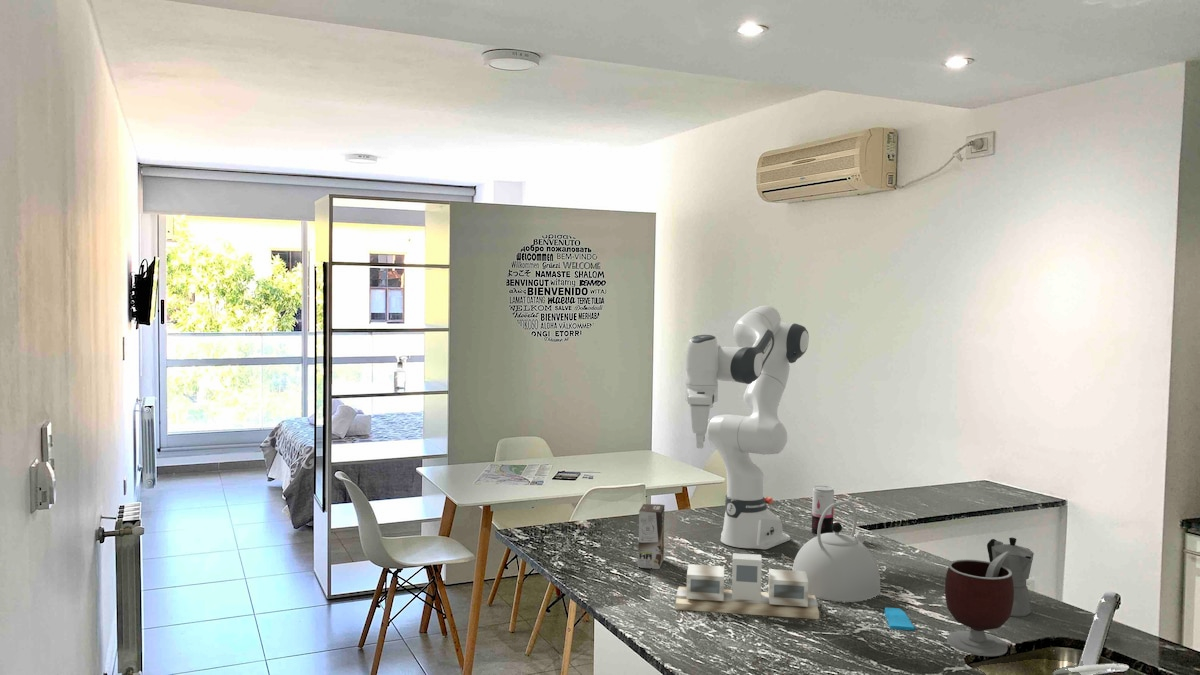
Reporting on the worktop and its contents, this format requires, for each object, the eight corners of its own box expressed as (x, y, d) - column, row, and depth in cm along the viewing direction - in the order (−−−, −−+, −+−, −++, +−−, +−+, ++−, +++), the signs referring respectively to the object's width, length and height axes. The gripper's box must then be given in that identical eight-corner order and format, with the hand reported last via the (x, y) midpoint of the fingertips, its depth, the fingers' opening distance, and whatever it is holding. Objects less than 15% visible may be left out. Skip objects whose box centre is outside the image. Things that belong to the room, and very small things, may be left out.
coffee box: (660, 569, 239) (661, 512, 238) (637, 567, 241) (638, 510, 240) (664, 559, 248) (665, 504, 247) (642, 557, 250) (643, 502, 249)
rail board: (675, 609, 210) (675, 576, 209) (678, 592, 222) (679, 561, 221) (819, 619, 205) (819, 585, 204) (814, 601, 216) (815, 569, 216)
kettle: (826, 565, 245) (829, 486, 244) (901, 586, 229) (904, 502, 227) (774, 585, 228) (775, 500, 227) (850, 609, 212) (852, 518, 210)
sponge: (909, 609, 210) (884, 604, 211) (916, 628, 198) (890, 623, 199) (908, 615, 210) (883, 610, 211) (915, 635, 198) (889, 629, 199)
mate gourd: (978, 662, 182) (982, 569, 181) (929, 637, 195) (932, 550, 193) (1031, 650, 188) (1035, 560, 187) (980, 627, 201) (983, 542, 200)
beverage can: (837, 535, 275) (838, 488, 274) (823, 538, 271) (824, 491, 270) (821, 530, 280) (822, 484, 279) (807, 533, 276) (808, 487, 276)
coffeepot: (1045, 618, 207) (1049, 544, 206) (1011, 621, 205) (1014, 546, 204) (1002, 595, 222) (1005, 526, 221) (970, 598, 220) (972, 528, 218)
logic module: (731, 592, 216) (732, 553, 215) (760, 594, 215) (761, 554, 214) (731, 598, 211) (732, 558, 211) (760, 600, 210) (761, 560, 210)
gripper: (691, 389, 247) (691, 437, 247) (687, 398, 227) (687, 451, 227) (714, 390, 246) (713, 438, 247) (712, 399, 226) (711, 452, 226)
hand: (700, 444), depth 237 cm, fingers open, 8 cm apart
